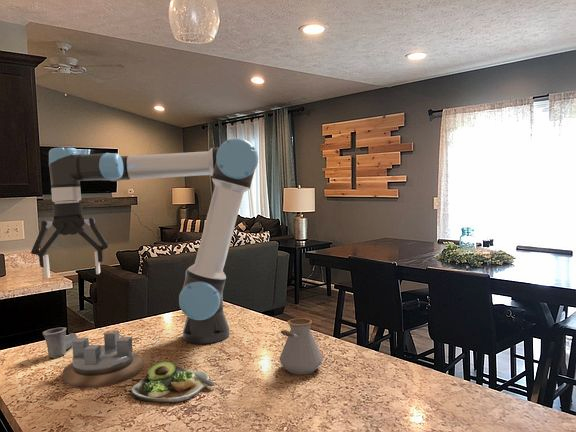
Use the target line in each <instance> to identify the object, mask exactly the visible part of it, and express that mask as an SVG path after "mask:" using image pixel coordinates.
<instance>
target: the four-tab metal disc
mask: <svg viewBox="0 0 576 432" xmlns="http://www.w3.org/2000/svg"><path fill="white" fill-rule="evenodd" d="M89 339H90V338H89V337H77V339H75V340H74V341H72V346H71V347H72V362H73V371H74V372H75V373H77V374H81V375H101V374H107V373H111V372H115V371H118V370H121V369H123V368H125V367H127V366H129V365H130V364H131V363H132V361H133V353H134V352H133V350H134V349H133V337H132V336H121V337H120V331H119V329H118V330H115V329H112V330H107V331H106V332H105V333H104V334H103V340H104V345H103V344H102V345H101V344H90V343H89V342H90V341H89Z"/></svg>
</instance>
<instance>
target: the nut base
mask: <svg viewBox="0 0 576 432" xmlns="http://www.w3.org/2000/svg"><path fill="white" fill-rule="evenodd" d="M143 363H144V361H143V357H142V356H141V354H138V353H136V352H133V361H132V363H131V364H130V365H129V366H127V367H125V368H123V369H121V370H118V371H115V372H111V373H107V374H101V375H81V374H77V373H75V372H74V371H73V361H72V362H70V363H68V364H67V365H66V366H65V367H64V368H63V369H62V381H63V383H64V384H65V385H66V386H68V387H71V388H72V387H73V388H77V389H79V388H80V389H94V388H103V387H108V386H112V385H116V384H119V383H123V382H125V381H127V380H130V379H132V378H133V377H136V376H137V375H138V374H139V373H141V371H142V370H143V368H144V364H143Z"/></svg>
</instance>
